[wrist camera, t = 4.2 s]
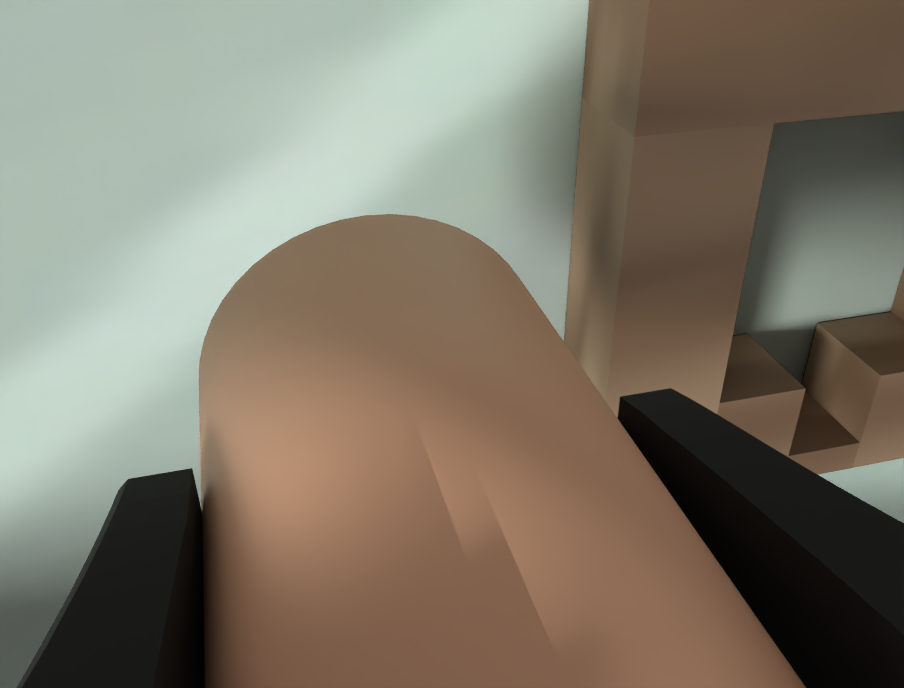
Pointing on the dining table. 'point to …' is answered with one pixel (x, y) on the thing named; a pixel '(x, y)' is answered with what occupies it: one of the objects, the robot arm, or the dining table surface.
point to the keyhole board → (723, 213)
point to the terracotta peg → (437, 489)
